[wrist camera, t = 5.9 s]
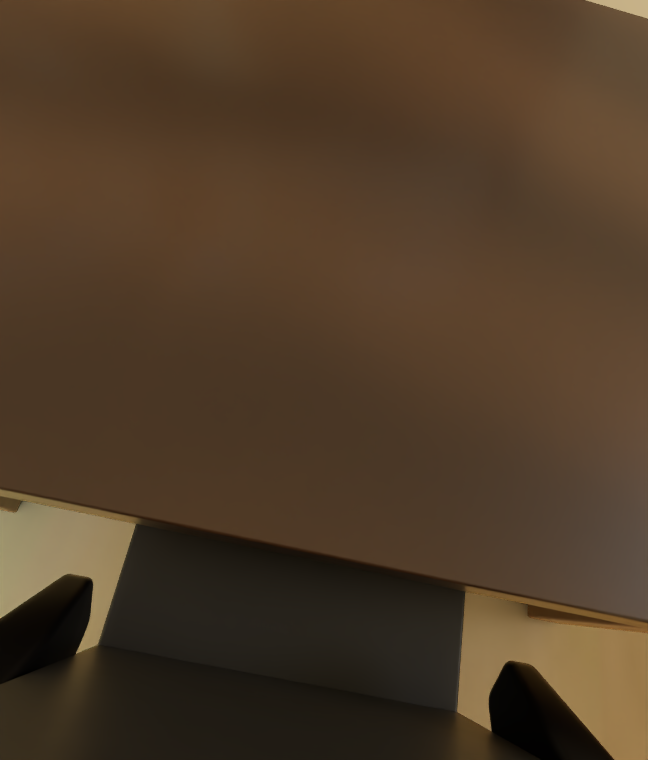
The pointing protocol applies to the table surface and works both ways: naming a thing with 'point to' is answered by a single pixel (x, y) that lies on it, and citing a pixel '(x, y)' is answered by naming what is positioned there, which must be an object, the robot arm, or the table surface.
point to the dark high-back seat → (253, 666)
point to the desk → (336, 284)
